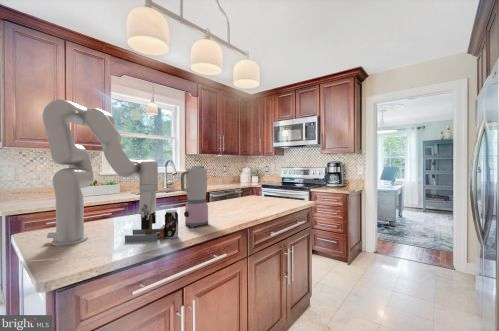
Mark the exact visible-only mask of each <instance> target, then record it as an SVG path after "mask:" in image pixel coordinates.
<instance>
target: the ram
mask: <svg viewBox="0 0 499 331" xmlns="http://www.w3.org/2000/svg"><path fill="white" fill-rule="evenodd" d="M146 216H147V215H146ZM148 220H149V229H146V230H145V234H157V238H159V240H161V241H162V240H165V239H166V237H165V224H163V225H162V226H161V227H160V228H158V229H159V231H160V232H152V229H153V224H152V215H149V219H148Z"/></svg>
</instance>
